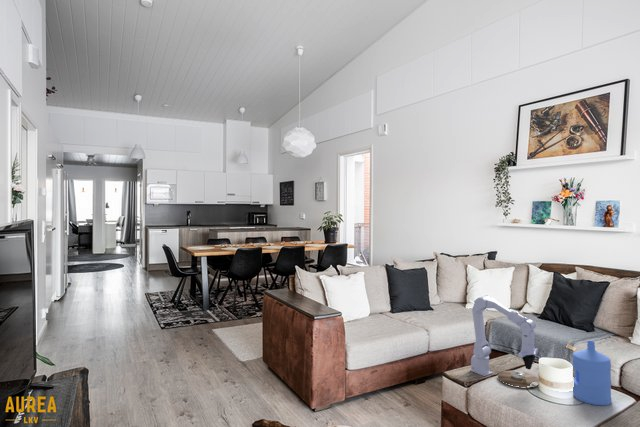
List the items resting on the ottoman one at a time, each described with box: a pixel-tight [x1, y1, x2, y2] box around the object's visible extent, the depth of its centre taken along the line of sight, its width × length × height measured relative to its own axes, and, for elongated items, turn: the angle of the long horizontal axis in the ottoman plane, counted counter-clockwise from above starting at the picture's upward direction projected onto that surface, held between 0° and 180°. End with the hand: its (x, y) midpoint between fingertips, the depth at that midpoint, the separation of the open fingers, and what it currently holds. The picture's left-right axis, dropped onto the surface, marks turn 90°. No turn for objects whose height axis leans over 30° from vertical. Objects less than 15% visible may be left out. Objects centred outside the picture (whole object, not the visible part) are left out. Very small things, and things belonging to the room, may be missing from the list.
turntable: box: [497, 370, 539, 387], centre depth 220 cm, size 20×20×4 cm
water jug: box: [572, 340, 612, 406], centre depth 198 cm, size 16×16×28 cm
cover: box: [511, 370, 526, 380], centre depth 220 cm, size 7×7×3 cm
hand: (528, 368), depth 213 cm, fingers closed
